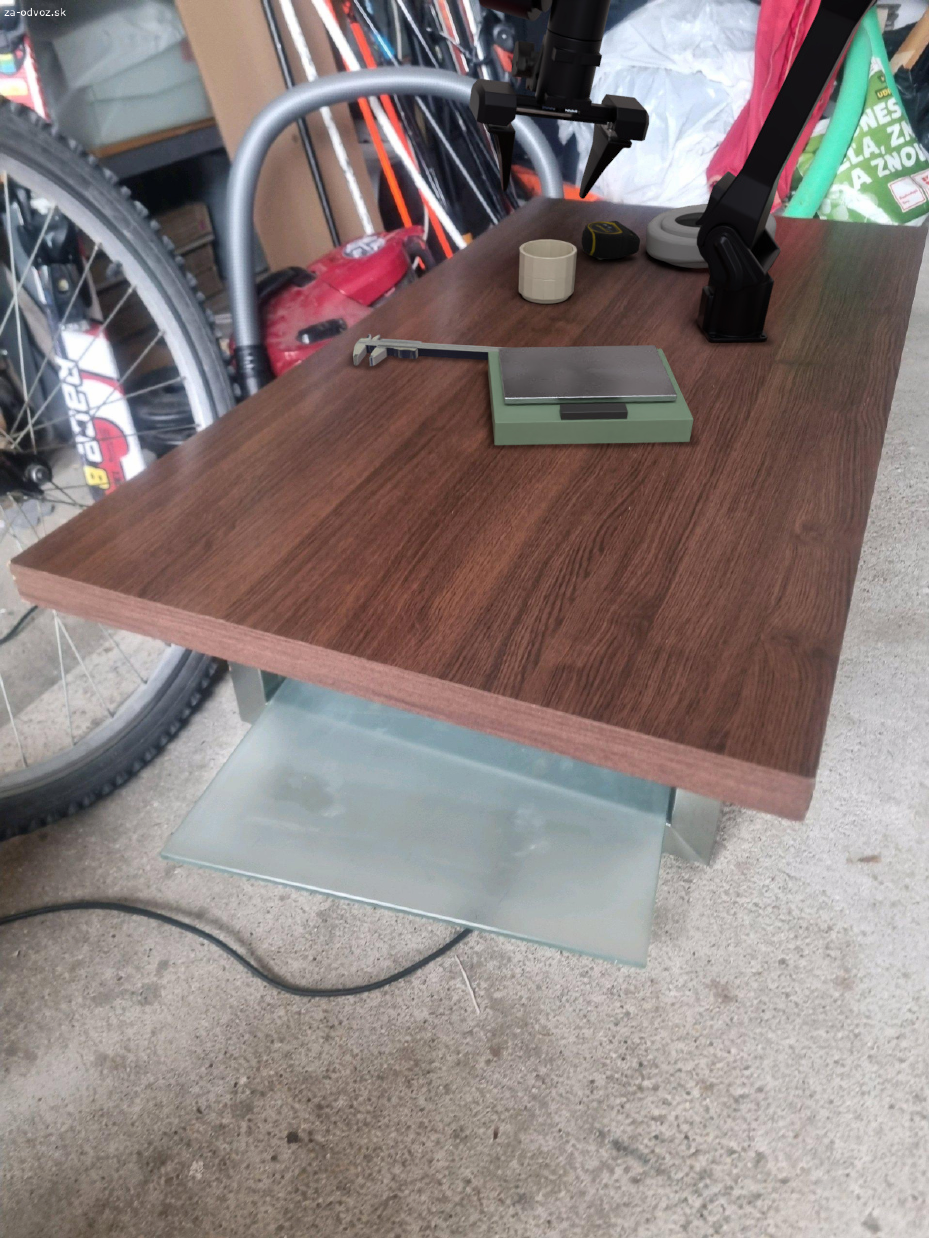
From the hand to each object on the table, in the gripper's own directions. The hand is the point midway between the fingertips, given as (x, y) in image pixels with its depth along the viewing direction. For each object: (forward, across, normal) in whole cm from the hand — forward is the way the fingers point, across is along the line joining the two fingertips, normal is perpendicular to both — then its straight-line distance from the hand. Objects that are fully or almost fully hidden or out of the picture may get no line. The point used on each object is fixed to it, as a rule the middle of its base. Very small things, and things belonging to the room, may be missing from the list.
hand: (543, 194), depth 98 cm
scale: (+9, 0, +29) cm, 31 cm away
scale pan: (+7, +1, +28) cm, 29 cm away
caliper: (+11, +12, +18) cm, 25 cm away
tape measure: (+12, -15, -12) cm, 22 cm away
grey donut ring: (+9, -27, -8) cm, 30 cm away
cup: (+12, -3, 0) cm, 12 cm away
